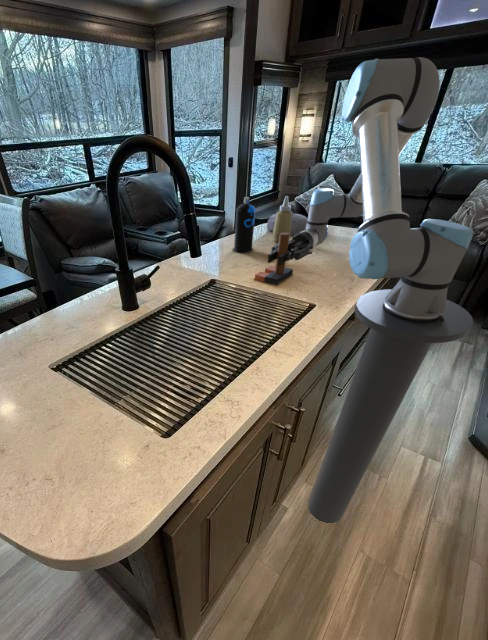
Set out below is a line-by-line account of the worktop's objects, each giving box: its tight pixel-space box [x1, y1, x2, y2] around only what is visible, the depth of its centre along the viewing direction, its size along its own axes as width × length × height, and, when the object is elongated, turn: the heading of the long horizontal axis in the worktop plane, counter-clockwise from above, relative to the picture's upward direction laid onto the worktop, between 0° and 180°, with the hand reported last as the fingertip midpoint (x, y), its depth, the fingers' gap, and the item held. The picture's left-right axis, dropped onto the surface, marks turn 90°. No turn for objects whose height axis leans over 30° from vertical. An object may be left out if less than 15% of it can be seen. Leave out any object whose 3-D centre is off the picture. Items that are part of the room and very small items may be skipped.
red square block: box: [254, 271, 269, 283], centre depth 120 cm, size 4×4×2 cm
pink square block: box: [264, 265, 276, 274], centre depth 124 cm, size 4×4×2 cm
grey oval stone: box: [266, 212, 308, 236], centre depth 162 cm, size 15×8×20 cm
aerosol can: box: [233, 196, 257, 254], centre depth 140 cm, size 8×8×20 cm
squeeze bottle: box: [272, 195, 293, 243], centre depth 148 cm, size 8×8×18 cm
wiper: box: [263, 232, 294, 286], centre depth 116 cm, size 5×12×15 cm, turn 140°
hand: (274, 259), depth 112 cm, fingers closed on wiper, 3 cm apart
